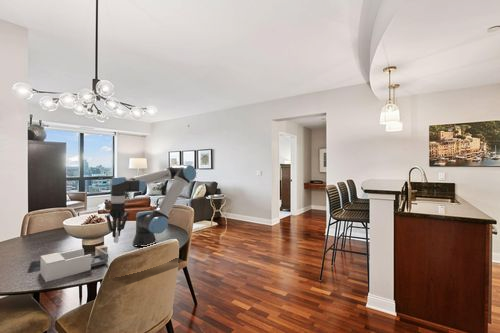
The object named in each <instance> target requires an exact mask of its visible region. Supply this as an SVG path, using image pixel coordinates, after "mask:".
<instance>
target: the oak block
mask: <svg viewBox="0 0 500 333" xmlns="http://www.w3.org/2000/svg"><path fill="white" fill-rule="evenodd" d="M94 248H95V251H94V253H95V254H94V256H96V255H99V249H102V250H103V251H105V252H106V253H108V246H107V245H106V244H103V245H98V246H95V247H94Z"/></svg>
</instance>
